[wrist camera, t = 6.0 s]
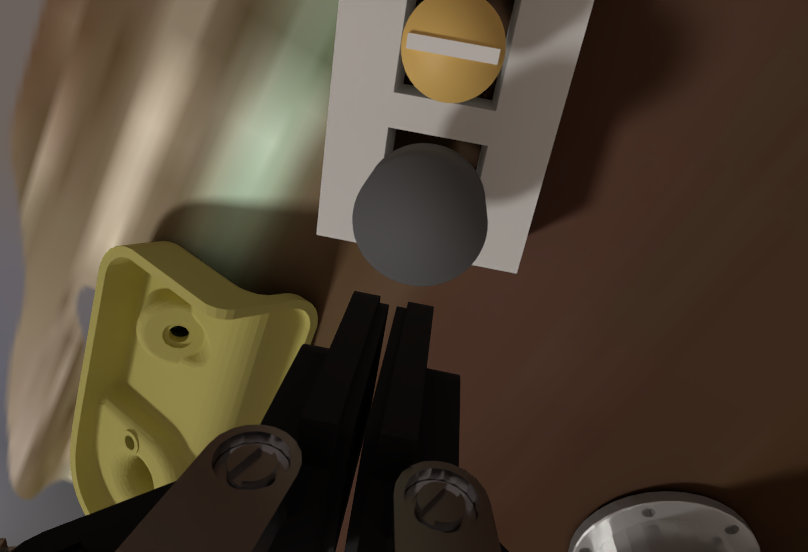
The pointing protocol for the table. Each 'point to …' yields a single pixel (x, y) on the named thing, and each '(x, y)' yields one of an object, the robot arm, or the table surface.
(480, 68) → the pot knob
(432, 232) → the knob
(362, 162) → the mount
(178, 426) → the plastic component
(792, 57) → the table surface
